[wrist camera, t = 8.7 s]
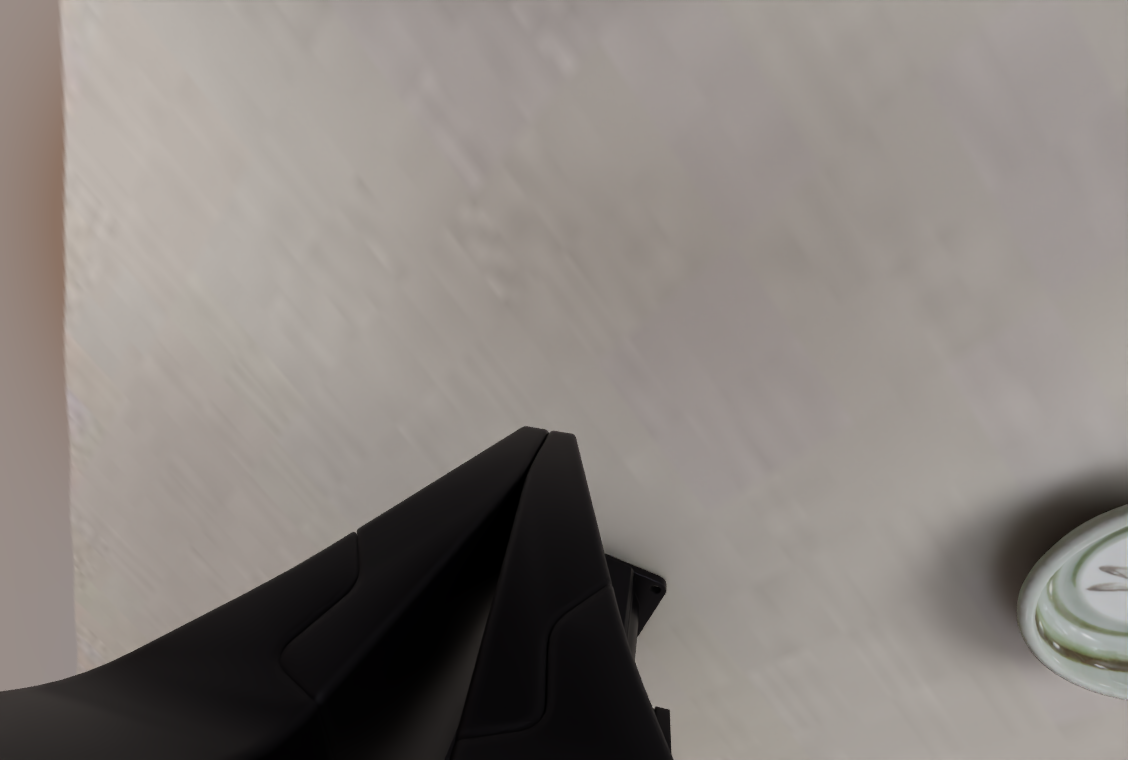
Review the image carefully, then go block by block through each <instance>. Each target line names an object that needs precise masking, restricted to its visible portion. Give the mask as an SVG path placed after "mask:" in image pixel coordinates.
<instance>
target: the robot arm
mask: <svg viewBox="0 0 1128 760" xmlns="http://www.w3.org/2000/svg"><path fill="white" fill-rule="evenodd" d="M654 585H655V586H658V587H654ZM665 593H666V581H665V580H664V579H663V578H662V577H660V576H658V575H656V574H653V573H651V572H648V571H646V570H643V569H641V568H638V567H636V566H633V565H631V564H629V563H626V562H624V561H621V560H619V559H616V558H614V557H611V556H609V555H606V554H604V550H603V546H602V542H601V537H600V533H599V529H598V525H597V521H596V517H595V513H594V509H593V505H592V501H591V497H590V493H589V489H588V485H587V481H586V477H585V472H584V468H583V464H582V460H581V456H580V452H579V448H578V444H577V440H576V437H575V435H574V434H571V433H564V432H558V431H551V432H550V433H549V432H548V431H547V430H545V429H540V428H534V427H528V426H525V427H522V428H520V429H519V430H517V431H515V432H514V433H512V434H510V435H509V436H507V437H506V438H504V439H502V440H501V441H499V442H498V443H496V444H494V445H493V446H491V447H489V448H488V449H486V450H485V451H483V452H481V453H480V454H478V455H477V456H475V457H473V458H472V459H470V460H468V461H467V462H465V463H464V464H462V465H460V466H459V467H457V468H456V469H454V470H452V471H451V472H449V473H447V474H446V475H444V476H443V477H441V478H439V479H438V480H436V481H435V482H433V483H431V484H430V485H428V486H426V487H425V488H423V489H422V490H420V491H418V492H417V493H415V494H414V495H412V496H410V497H409V498H407V499H405V500H404V501H402V502H401V503H399V504H397V505H396V506H394V507H393V508H391V509H389V510H388V511H386V512H384V513H383V514H381V515H380V516H378V517H376V518H375V519H373V520H372V521H370V522H368V523H367V524H365V525H363V526H362V527H360V528H359V529H358V530H357V534H356V533H355V532H352V533H350V534H349V535H347V536H345V537H344V538H342V539H340V540H339V541H337V542H336V543H334V544H332V545H331V546H329V547H327V548H326V549H324V550H322V551H321V552H319V553H317V554H316V555H314V556H312V557H310V558H309V559H307V560H305V561H304V562H302V563H300V564H299V565H297V566H295V567H293V568H292V569H290V570H288V571H286V572H284V573H283V574H281V575H279V576H277V577H275V578H273V579H271V580H269V581H268V582H266V583H264V584H262V585H260V586H258V587H256V588H255V589H253V590H251V591H249V592H247V593H245V594H243V595H241V596H239V597H237V598H236V599H234V600H232V601H230V602H228V603H226V604H224V605H222V606H220V607H218V608H216V609H214V610H212V611H210V612H208V613H206V614H204V615H202V616H201V617H199V618H197V619H195V620H193V621H191V622H189V623H187V624H185V625H183V626H181V627H179V628H177V629H175V630H173V631H171V632H169V633H168V634H166V635H164V636H162V637H160V638H158V639H156V640H154V641H152V642H150V643H148V644H146V645H144V646H142V647H140V648H138V649H136V650H134V651H133V652H131V653H128V654H126V655H124V656H122V657H120V658H118V659H116V660H114V661H112V662H110V663H107V664H105V665H102V666H100V667H97V668H95V669H92V670H90V671H87V672H84V673H81V674H78V675H75V676H72V677H69V678H66V679H63V680H59V681H55V682H51V683H47V684H42V685H38V686H33V687H27V688H22V689H15V690H8V691H2V692H0V760H673V757H672V755H671V734H670V710H668V709H664V708H660V707H655V709H654V708H652V705H651V703H650V700H649V698H648V695H647V693H646V690H645V688H644V685H643V683H642V680H641V677H640V674H639V672H638V669H637V666H636V663H635V653H636V643H637V637H638V635H639V634H640V632H641V631H642V629H643V627H644V626H645V624H646V623H647V621H648V620H649V618H650V617H651V615H652V613H653V612H654V610H655V609H656V607H657V606H658V604H659V603H660V601H661V599H662V598H663V596H664V595H665Z"/></svg>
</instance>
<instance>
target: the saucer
mask: <svg viewBox="0 0 1128 760" xmlns="http://www.w3.org/2000/svg"><path fill="white" fill-rule="evenodd" d="M1017 622H1018V626H1019V629H1020V632H1021V635H1022V637H1023V639H1024V641H1025V643H1026V644H1027V646H1028V648H1029V649H1030V650H1031V652H1032V653H1033V654H1034V655H1035V657H1036V658H1037V659H1038V660H1039V661H1040V662H1041V663H1043V664H1044V665H1045V666H1046V667H1047V668H1048V669H1050V670H1051V671H1053V672H1054V673H1056V674H1057V675H1059V676H1060V677H1062V678H1064V679H1065V680H1067V681H1069V682H1071V683H1073V684H1075V685H1078V686H1080V687H1082V688H1085V689H1087V690H1090V691H1093V692H1096V693H1099V694H1102V695H1106V696H1110V697H1115V698H1119V699H1123V700H1128V504H1127V505H1124V506H1121V507H1118V508H1115V509H1113V510H1110V511H1107V512H1105V513H1103V514H1101V515H1098V516H1096V517H1094V518H1092V519H1090V520H1088V521H1087V522H1085V523H1083V524H1081V525H1080V526H1078V527H1077V528H1075V529H1073V530H1072V531H1071V532H1069V533H1068V534H1066V535H1065V536H1064V537H1063V538H1061V539H1060V540H1059V541H1058V542H1057V543H1056V544H1055V545H1054V546H1053V547H1052V548H1051V549H1049V550H1048V551H1047V552H1046V553H1045V554H1044V555H1043V556H1042V557H1041V558H1040V559H1039V560H1038V561H1037V563H1036V564H1035V565H1034V567H1033V568H1032V569H1031V571H1030V572H1029V574H1028V576H1027V578H1026V579H1025V581H1024V582H1023V584H1022V587H1021V589H1020V592H1019V597H1018V602H1017Z"/></svg>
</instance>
